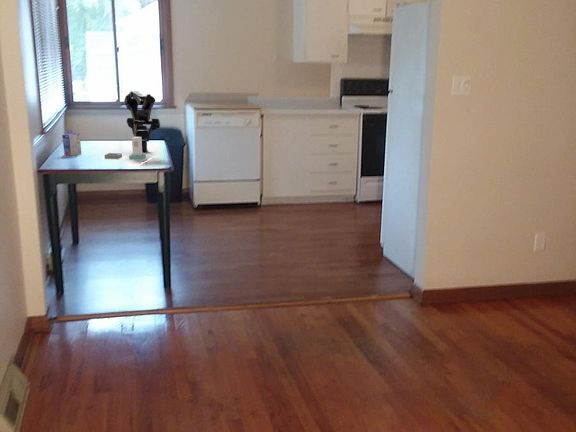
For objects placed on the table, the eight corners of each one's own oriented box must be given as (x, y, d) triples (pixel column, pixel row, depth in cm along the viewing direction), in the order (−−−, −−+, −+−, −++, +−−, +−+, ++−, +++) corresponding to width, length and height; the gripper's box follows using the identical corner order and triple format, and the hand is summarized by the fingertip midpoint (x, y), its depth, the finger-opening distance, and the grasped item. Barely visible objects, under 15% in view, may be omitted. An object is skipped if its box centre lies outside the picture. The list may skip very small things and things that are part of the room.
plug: (134, 157, 352) (133, 136, 349) (142, 157, 352) (141, 136, 349) (132, 158, 348) (131, 137, 345) (140, 159, 348) (139, 137, 345)
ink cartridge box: (74, 153, 370) (72, 128, 367) (81, 153, 369) (80, 129, 365) (63, 155, 361) (61, 130, 358) (71, 156, 360) (69, 131, 356)
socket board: (101, 160, 345) (100, 155, 345) (108, 157, 357) (108, 152, 356) (143, 161, 344) (143, 156, 344) (149, 158, 356) (149, 153, 355)
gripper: (126, 103, 357) (121, 125, 349) (158, 104, 356) (154, 125, 348) (131, 116, 367) (126, 137, 359) (162, 117, 366) (158, 138, 358)
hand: (141, 134), depth 356 cm, fingers open, 9 cm apart
